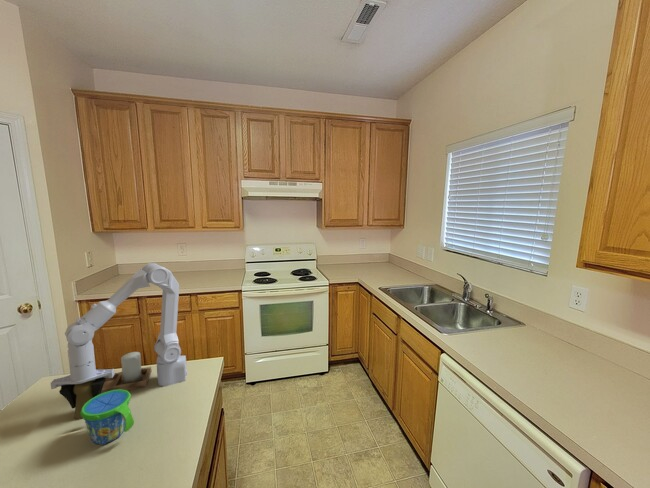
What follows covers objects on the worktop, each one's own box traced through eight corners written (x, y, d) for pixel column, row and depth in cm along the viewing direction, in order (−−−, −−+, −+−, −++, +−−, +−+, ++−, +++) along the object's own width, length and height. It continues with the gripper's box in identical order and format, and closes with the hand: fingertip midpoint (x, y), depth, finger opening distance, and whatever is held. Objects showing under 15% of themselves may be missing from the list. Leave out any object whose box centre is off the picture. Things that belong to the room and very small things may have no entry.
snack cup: (147, 429, 78) (145, 396, 77) (106, 460, 68) (103, 423, 67) (112, 414, 84) (109, 383, 82) (69, 440, 74) (66, 406, 73)
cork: (97, 404, 88) (94, 372, 86) (102, 413, 84) (99, 380, 82) (72, 415, 83) (68, 381, 82) (76, 425, 79) (72, 390, 78)
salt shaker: (143, 375, 102) (141, 350, 101) (140, 384, 97) (138, 358, 96) (125, 379, 100) (123, 353, 98) (121, 388, 94) (118, 361, 93)
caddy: (151, 373, 105) (151, 366, 104) (146, 388, 96) (145, 381, 95) (89, 385, 97) (89, 377, 97) (77, 403, 88) (76, 395, 88)
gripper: (115, 350, 88) (119, 389, 89) (57, 360, 82) (62, 401, 84) (108, 361, 81) (112, 403, 83) (44, 372, 76) (49, 417, 77)
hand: (86, 403), depth 83 cm, fingers closed on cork, 5 cm apart
